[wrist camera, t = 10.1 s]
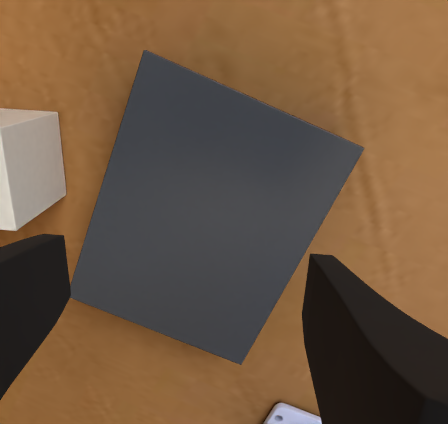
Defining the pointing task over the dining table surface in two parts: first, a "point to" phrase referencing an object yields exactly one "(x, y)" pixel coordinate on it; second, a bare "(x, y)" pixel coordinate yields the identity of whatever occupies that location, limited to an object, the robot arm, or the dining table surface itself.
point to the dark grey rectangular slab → (205, 209)
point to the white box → (29, 165)
